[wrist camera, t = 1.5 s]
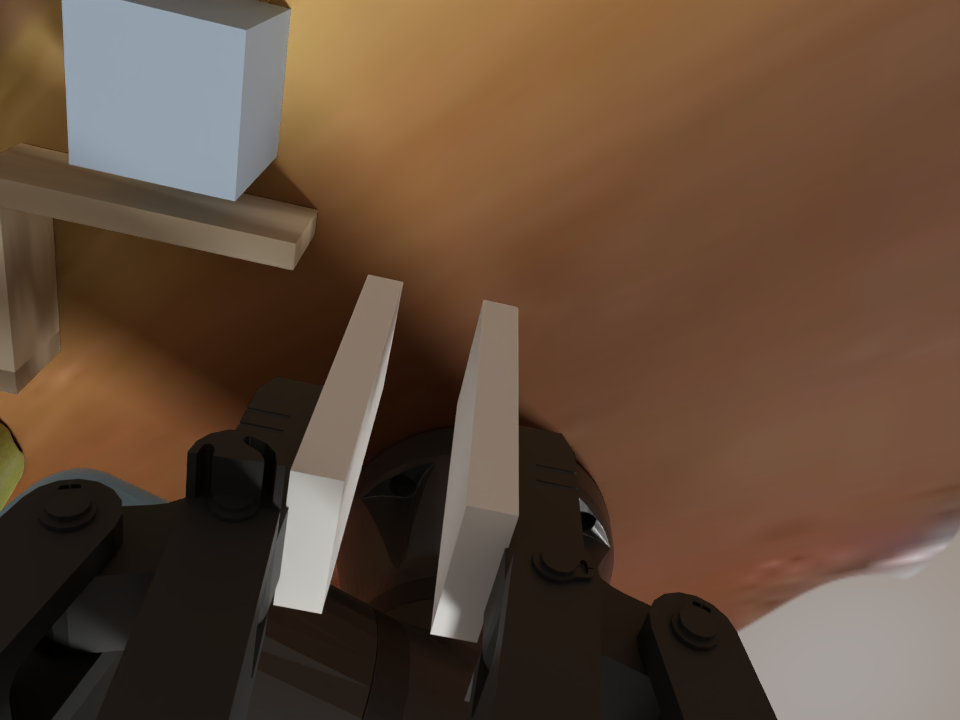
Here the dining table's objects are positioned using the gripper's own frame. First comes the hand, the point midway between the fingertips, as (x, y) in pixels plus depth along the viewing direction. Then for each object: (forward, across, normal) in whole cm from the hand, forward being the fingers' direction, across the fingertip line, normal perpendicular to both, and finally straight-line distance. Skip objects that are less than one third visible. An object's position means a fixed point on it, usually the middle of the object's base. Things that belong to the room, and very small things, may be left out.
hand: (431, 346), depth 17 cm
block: (+19, +11, 0) cm, 22 cm away
